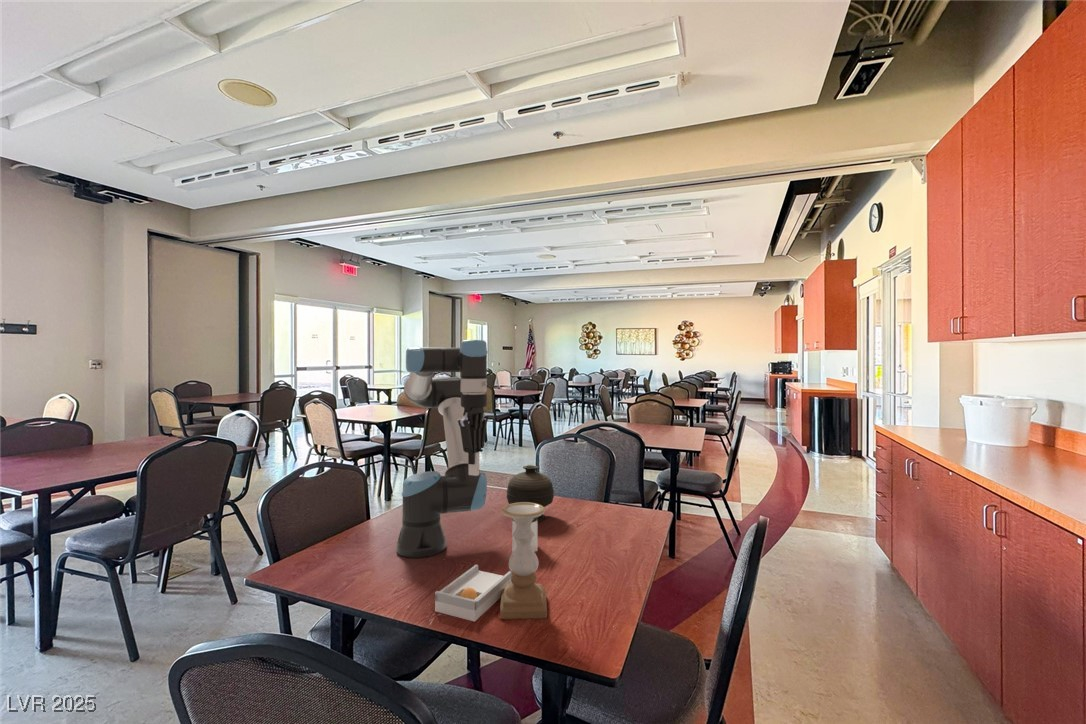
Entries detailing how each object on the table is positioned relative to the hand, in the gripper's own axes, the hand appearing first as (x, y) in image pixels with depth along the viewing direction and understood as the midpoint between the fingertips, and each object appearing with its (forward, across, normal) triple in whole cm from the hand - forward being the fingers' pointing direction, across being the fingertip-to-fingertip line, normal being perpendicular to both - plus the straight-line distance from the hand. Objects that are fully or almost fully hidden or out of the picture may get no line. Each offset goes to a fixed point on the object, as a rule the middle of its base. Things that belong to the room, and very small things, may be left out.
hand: (473, 474), depth 137 cm
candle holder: (+27, -14, -23) cm, 38 cm away
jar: (+27, +17, -8) cm, 33 cm away
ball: (+24, -19, -11) cm, 33 cm away
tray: (+26, -16, -10) cm, 33 cm away
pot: (+27, +44, +3) cm, 52 cm away
